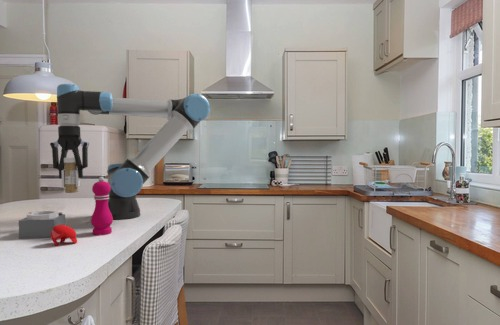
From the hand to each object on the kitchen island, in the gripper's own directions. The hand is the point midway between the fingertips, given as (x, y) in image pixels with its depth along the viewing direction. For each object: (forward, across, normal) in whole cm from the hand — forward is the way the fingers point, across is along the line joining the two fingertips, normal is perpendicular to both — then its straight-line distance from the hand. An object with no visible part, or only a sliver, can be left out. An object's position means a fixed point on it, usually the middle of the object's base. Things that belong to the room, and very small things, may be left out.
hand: (71, 186), depth 137 cm
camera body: (+15, -6, -12) cm, 20 cm away
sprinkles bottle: (+2, 0, 0) cm, 2 cm away
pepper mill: (+16, +14, -13) cm, 25 cm away
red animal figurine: (+16, +6, -26) cm, 31 cm away
